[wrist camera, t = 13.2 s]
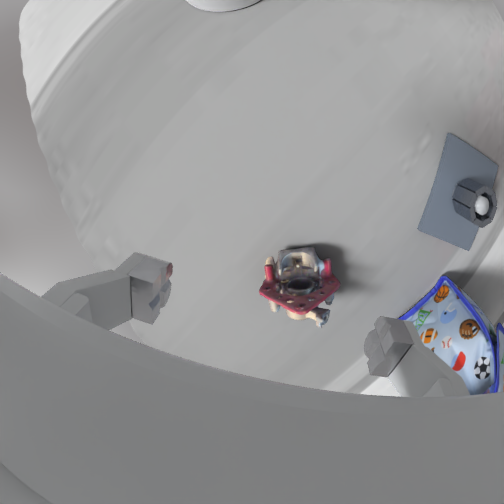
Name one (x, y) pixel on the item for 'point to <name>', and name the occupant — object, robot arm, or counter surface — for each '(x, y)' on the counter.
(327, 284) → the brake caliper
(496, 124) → the counter surface
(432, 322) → the lunch bag
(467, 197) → the hub ring
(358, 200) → the counter surface
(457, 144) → the post block
